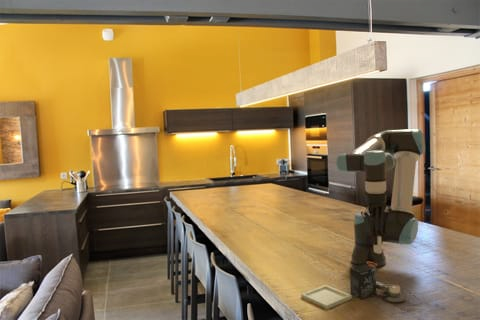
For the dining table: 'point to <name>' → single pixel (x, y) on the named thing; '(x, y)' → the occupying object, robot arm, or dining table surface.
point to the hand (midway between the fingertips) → (377, 252)
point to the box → (363, 281)
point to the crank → (390, 289)
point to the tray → (326, 296)
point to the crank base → (394, 298)
